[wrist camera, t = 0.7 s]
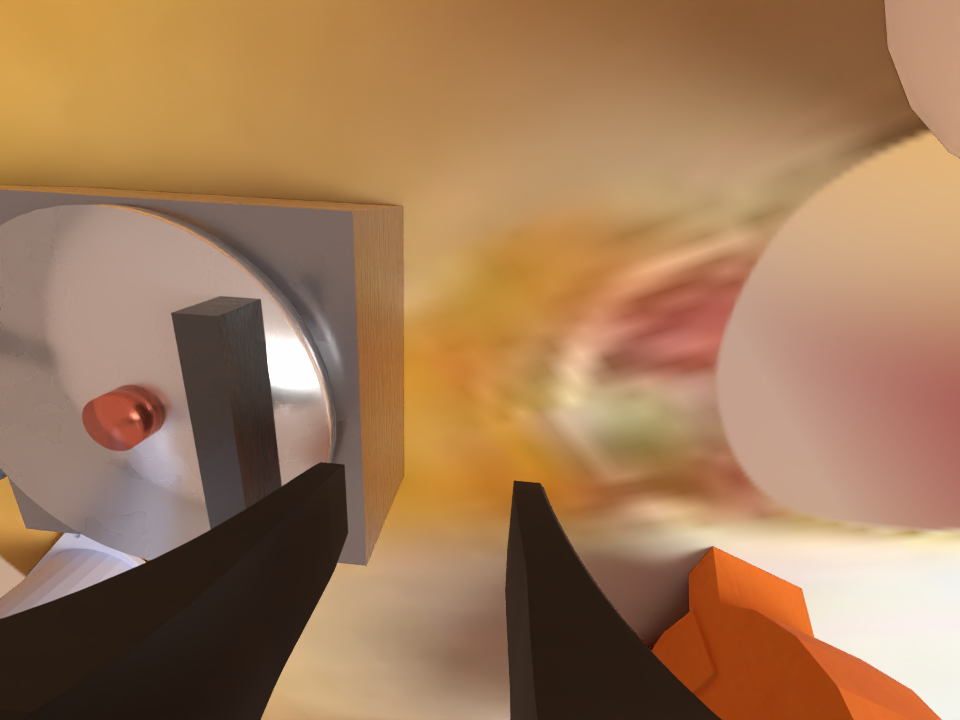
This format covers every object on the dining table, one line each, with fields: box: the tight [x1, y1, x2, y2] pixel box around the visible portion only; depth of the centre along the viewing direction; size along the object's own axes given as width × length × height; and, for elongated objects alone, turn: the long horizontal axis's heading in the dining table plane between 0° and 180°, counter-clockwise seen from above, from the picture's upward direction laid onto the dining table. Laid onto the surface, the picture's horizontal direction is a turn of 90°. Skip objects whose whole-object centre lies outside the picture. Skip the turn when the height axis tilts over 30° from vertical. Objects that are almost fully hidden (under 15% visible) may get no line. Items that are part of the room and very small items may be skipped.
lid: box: [0, 204, 337, 560], centre depth 14 cm, size 13×13×3 cm
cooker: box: [0, 185, 404, 566], centre depth 18 cm, size 27×13×8 cm, turn 87°
